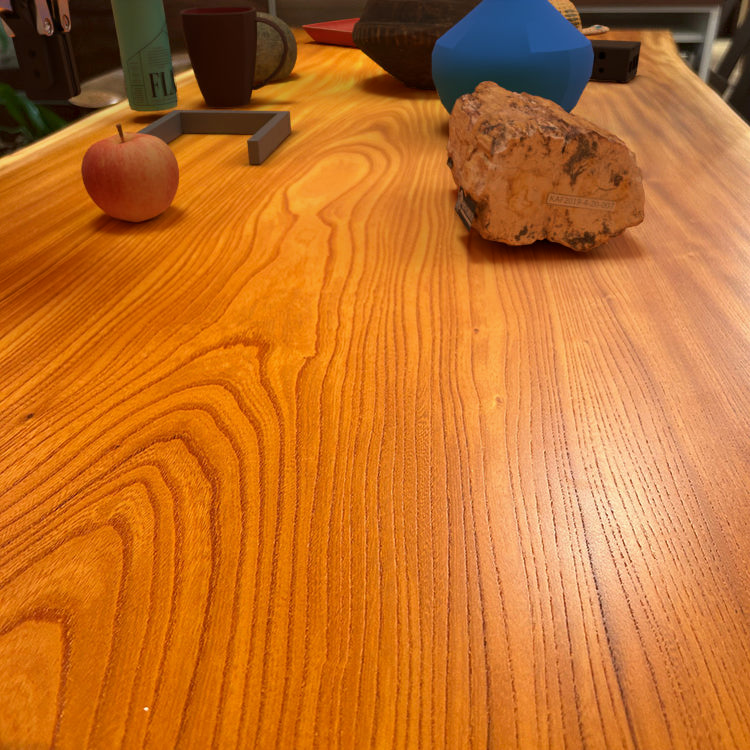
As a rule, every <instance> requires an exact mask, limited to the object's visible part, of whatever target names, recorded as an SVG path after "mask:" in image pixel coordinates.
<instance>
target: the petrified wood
mask: <svg viewBox="0 0 750 750" xmlns="http://www.w3.org/2000/svg"><path fill="white" fill-rule="evenodd" d="M448 135H449V138H448V141H447V144H446V146H445V150H446V151H447V160H446V166H447V167H448V168H449V170H450V173H451V175H452V180H453V182H454V185H455V186H456V189H457V192H458V193H457V198H456V202H455V206H454V212H456V214H457V216H458V217H459V219H460V220H461V222H462V224H463V226H464V227H465V229H466V230H467V232H468V233H470V232H471V228H473V229H475V230H476V231H477V232H478V234H479V235H480V236H481V237H482V238H483V239H484V240H487V241H491V242H499V243H505V244H507V245H508V246H523V245H532V244H533V243H534V242H536V241H537V240H540V241H542V240H544V239H546V240H548V241H550V242H552V243H559V244H561V245H563V246H565V247H568V248H570V249H572V250H574V251H576V252H588V251H591V250H592V249H594V248H598V247H599V246H600V245H607V244H608V243H609V242H610V241H611V239H614V238H619V237H621V236H623V235H624V233H625V231H626V229H629V228H633V227H637V226H639V225H640V224H642V223H643V222H644V219H645V217H646V216H645V215H646V214H645V202H646V195H645V194H646V193H645V188H644V183H643V180H644V175H643V170H642V169H641V168H640V166H639V164H638V161H637V156H636V153H635V152H634V151H632V150H631V149H630V148H629V147H628V145H627V143H626V142H625V141H624V140H622V139H621V138H619V137H618V136H617V135H616V134H614V133H612V132H610V131H608V130H606V129H604V128H602V127H600V126H598V125H596V124H595V123H593V122H591V121H589V120H587V119H586V118H584V117H583V116H581V115H580V114H575V113H572V112H570V113H567V112H566V111H564V109H563V108H562V107H561V106H559V105H557V104H556V103H554V102H553V101H551V100H547V99H544V98H542V97H539V96H532V95H529V94H527V93H525V92H522V93H521V94H518V93H516V92H514V93H513V92H511V91H507V90H506V89H504V88H502V87H500V86H499V85H497V84H496V83H494V82H491V81H485V82H482V83H480V84H479V85H478V86H477V87H476V88H475V92H473V93H472V94H469V93H468V94H465V95H462V96H461V97H460V98H458V99H457V100H456V103H455V105H454V107H453V110H452V112H451V115H450V114H449V119H448Z"/></svg>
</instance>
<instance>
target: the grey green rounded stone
mask: <svg viewBox="0 0 750 750" xmlns="http://www.w3.org/2000/svg"><path fill="white" fill-rule="evenodd" d="M256 12H257V17H262V18H266V19H268V20H270V21H272V22H274V23H275V24H276V25H278V26H279V27H280V28H281V29H282V31H283V32H284V34H285V37H286V39H287V43H288V53H287V57H286V61H285V63H284V66H283V67H282V69H281V70H280V72H279V73H278V74H277V75H276V77H275V78H274V79H273V80H274V81H275V80H281V79H286V78H288V77H289V76H290V75H291V74H292V72H293V70H294V69H295V67H296V63H297V59H298V44H297V40H296V37H295V34H294V32H293V30H292V29H291V27H290V26H289V25H287V23H286V22H285V21H284V20H282V19H281V18H279V17H277V16H275V15H273V14H270V13H268V12H260V11H256ZM283 52H284V44H283V40H282V38H281V36H280V34H279V33H278V32H277V31H276V30H275V29H274V28H273V27H271V26H269V25H267V24H265V23H261V22H257V53H256V67H255V77H254V82H263V81H264V80H265V79H267V78H268V77H269V76H270V75H271V74H272V73H273V72H274V71H275V69H276V68H277V67H278V65H279V64H280V62H281V59H282V56H283ZM273 80H272V81H273Z"/></svg>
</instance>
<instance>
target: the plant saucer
mask: <svg viewBox="0 0 750 750" xmlns="http://www.w3.org/2000/svg"><path fill="white" fill-rule="evenodd" d="M359 20H360V17H353V18H348V19H347V18H346V19H339V20H333V21H332V20H331V21H326V22H325V21H324V22H318V23H310V24H303V25H301V28H302V29H303V30H304V32H305V33H306V34H307V35H308V36H309V37H310V38H311V39H312V40H313V41H314V42H316V43H322V44H323V43H324V44H332V45H338V46H347V47H354V48H358V47H357V46H356V45H355V44H354V43H353V39H352V31H353V28H354V25H355V23H356V22H358V21H359Z"/></svg>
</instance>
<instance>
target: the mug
mask: <svg viewBox="0 0 750 750" xmlns="http://www.w3.org/2000/svg"><path fill="white" fill-rule="evenodd" d="M257 12H258V11H257V8H256V7H254V6H251V5H250V6H248V5H247V6H245V5H244V6H243V5H227V6H226V5H221V6H218V5H217V6H199V7H197V6H196V7H190V8H189V7H188V8H186V9H182V10H180V11H179V19H180V25H181V30H182V36H183V40H184V45H185V48H186V51H187V54H188V58H189V61H190V64H191V68H192V71H193V74H194V77H195V80H196V83H197V86H198V88H199V91H200V93H201V95H202V98H203V100H204V103H205V105H206V106H207V107H208V108H209V109H210V108H211V109H234V108H235V109H236V108H243V107H245V106H248V105H249V104H250V102H251V99H252V94H253V91H257V90H260V89H263V88H264V87H265V86H266V85H269V83H270V82H272V81H273V79H274V78H275V77H276V75H277V74H278V73H279V72H280V70H281V69H282V67H283V66H284V63H285V61H286V57H287V53H288V43H287V39H286V37H285V34H284V32H283V31H282V29H281V28H280V27H279V26H278V25H276V24H275V23H274V22H272V21H270V20H268V19H266V18H262V17H257ZM257 22H261V23H265V24H267V25H269V26H271V27H273V28H274V29H275V30H276V31H277V32H278V33H279V34H280V36H281V38H282V40H283V44H284V52H283V56H282V59H281V62H280V64H279V65H278V67H277V68H276V69H275V71H274V72H273V73H272V74H271V75H270V76H269V77H268V78H267V79H265V80H264V81H260V82H259V83H257V84H254V83H255V81H254V77H255V67H256V53H257Z"/></svg>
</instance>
